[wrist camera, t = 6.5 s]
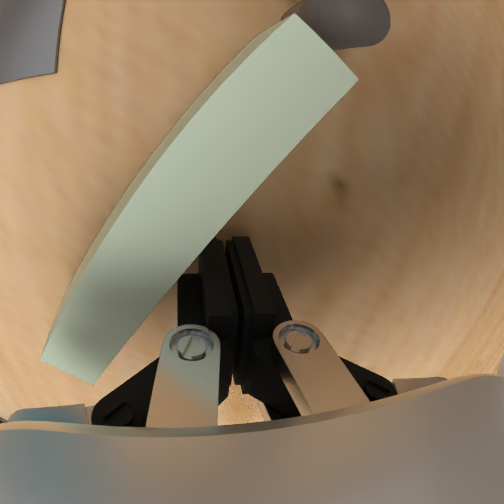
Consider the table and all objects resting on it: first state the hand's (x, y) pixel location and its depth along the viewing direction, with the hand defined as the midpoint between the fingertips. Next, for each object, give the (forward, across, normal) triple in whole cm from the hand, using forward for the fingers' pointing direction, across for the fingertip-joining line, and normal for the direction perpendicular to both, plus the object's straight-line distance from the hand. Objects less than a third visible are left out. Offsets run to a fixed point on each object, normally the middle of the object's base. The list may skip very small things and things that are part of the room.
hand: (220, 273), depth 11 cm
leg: (+1, +2, -3) cm, 3 cm away
